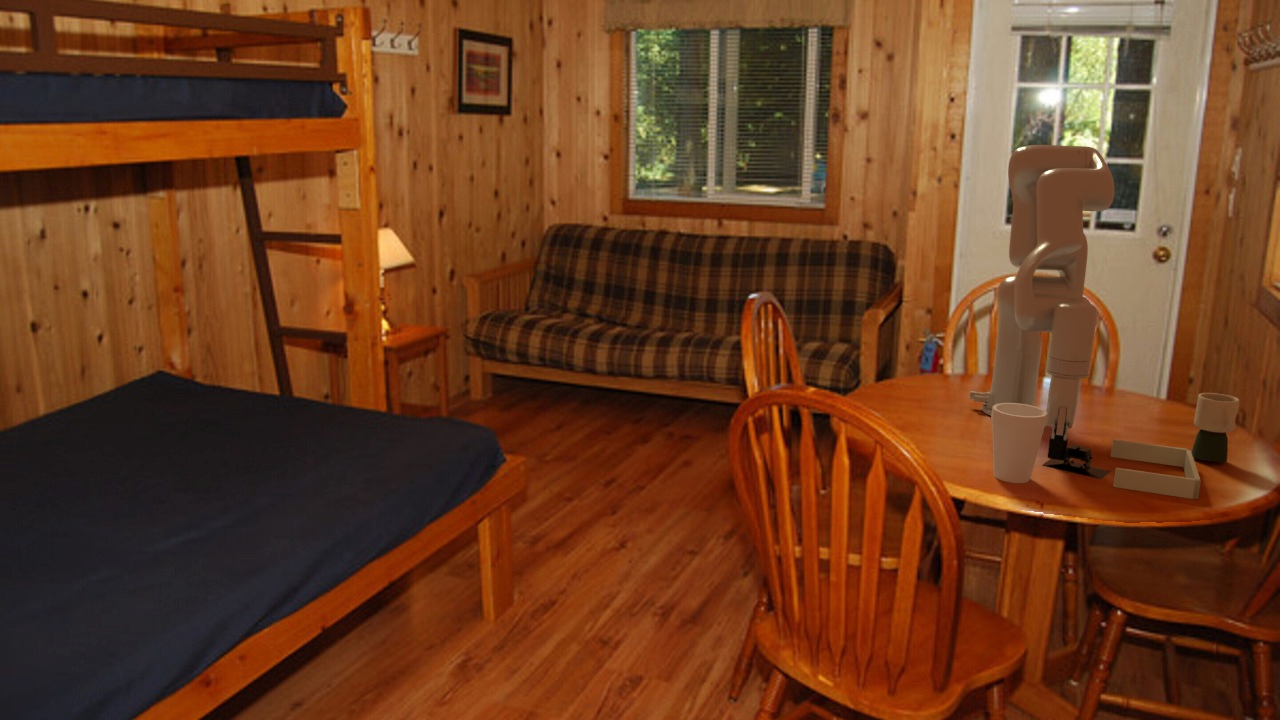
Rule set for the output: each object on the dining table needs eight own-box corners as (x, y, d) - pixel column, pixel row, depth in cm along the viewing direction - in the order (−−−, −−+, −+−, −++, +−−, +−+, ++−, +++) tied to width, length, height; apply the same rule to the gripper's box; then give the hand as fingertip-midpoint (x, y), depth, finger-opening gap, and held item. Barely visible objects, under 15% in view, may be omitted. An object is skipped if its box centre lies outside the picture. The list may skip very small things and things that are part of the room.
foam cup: (996, 485, 180) (1004, 416, 177) (977, 468, 189) (984, 402, 186) (1047, 486, 180) (1056, 417, 177) (1026, 469, 189) (1034, 403, 186)
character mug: (1242, 470, 192) (1253, 405, 189) (1204, 469, 192) (1215, 404, 189) (1212, 452, 202) (1222, 390, 199) (1176, 451, 202) (1186, 389, 199)
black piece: (1036, 467, 192) (1039, 444, 191) (1049, 458, 197) (1052, 436, 196) (1104, 483, 184) (1107, 459, 183) (1116, 473, 189) (1119, 450, 188)
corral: (1113, 486, 181) (1115, 468, 180) (1110, 455, 198) (1113, 439, 197) (1197, 499, 175) (1200, 480, 175) (1187, 466, 193) (1190, 449, 192)
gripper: (1048, 356, 197) (1037, 444, 201) (1045, 372, 184) (1033, 466, 188) (1090, 361, 194) (1077, 450, 198) (1089, 377, 181) (1076, 473, 185)
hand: (1056, 458), depth 193 cm, fingers closed
